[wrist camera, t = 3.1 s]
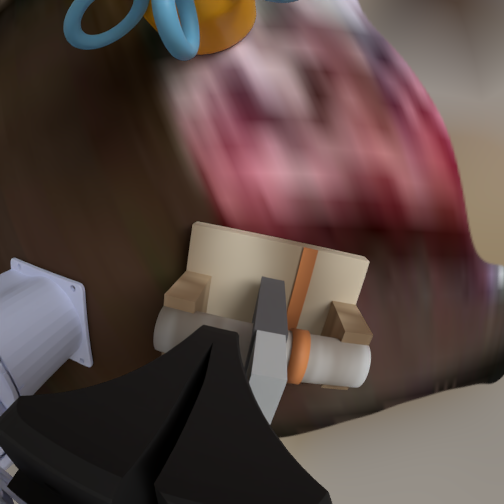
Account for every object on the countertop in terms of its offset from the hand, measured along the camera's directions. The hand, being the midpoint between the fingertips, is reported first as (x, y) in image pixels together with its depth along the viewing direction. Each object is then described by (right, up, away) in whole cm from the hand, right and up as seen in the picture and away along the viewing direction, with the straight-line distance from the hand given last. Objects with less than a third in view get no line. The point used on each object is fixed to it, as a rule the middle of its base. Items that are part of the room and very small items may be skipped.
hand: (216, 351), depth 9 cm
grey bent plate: (+2, 0, +6) cm, 6 cm away
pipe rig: (+2, 0, +8) cm, 8 cm away
